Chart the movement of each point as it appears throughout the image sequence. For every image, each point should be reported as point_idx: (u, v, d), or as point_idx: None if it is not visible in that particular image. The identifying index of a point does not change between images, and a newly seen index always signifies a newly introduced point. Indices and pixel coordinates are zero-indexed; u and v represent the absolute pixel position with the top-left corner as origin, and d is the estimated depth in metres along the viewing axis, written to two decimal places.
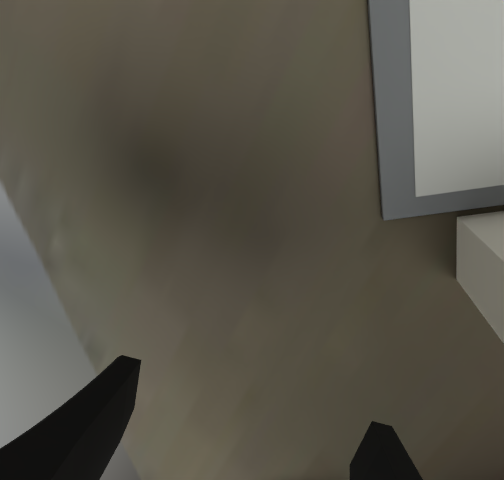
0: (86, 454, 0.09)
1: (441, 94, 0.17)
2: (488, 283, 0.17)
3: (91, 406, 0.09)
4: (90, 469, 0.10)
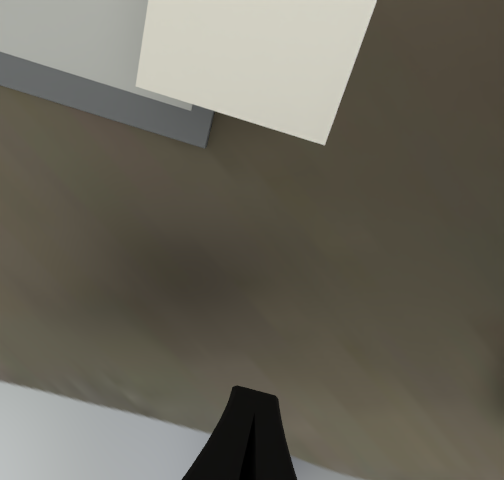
0: None
1: (102, 55, 0.18)
2: None
3: (234, 444, 0.09)
4: None
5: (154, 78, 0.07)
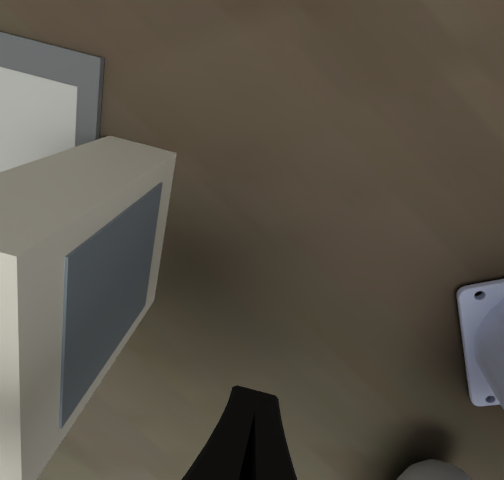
0: None
1: None
2: None
3: (234, 444, 0.09)
4: None
5: None
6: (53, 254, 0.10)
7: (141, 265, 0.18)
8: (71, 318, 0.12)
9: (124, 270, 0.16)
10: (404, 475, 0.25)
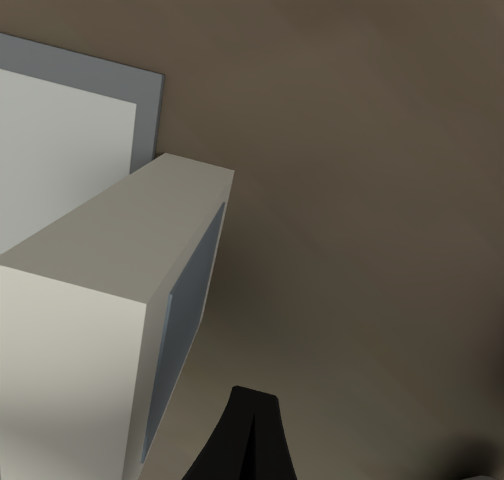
0: None
1: None
2: None
3: (234, 444, 0.09)
4: None
5: None
6: (164, 294, 0.10)
7: (203, 287, 0.18)
8: (164, 353, 0.12)
9: (195, 295, 0.16)
10: None
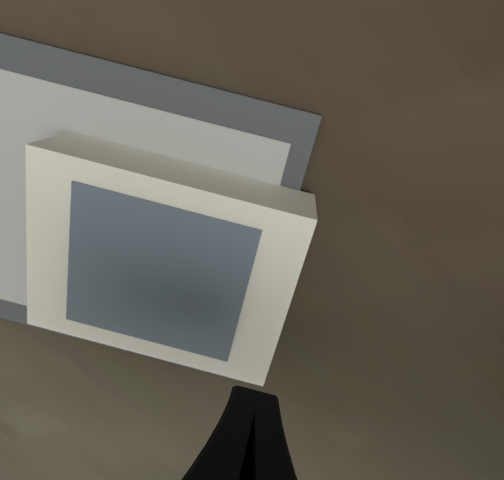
0: None
1: None
2: None
3: (234, 444, 0.09)
4: None
5: None
6: (59, 169, 0.16)
7: (209, 296, 0.17)
8: (76, 234, 0.17)
9: (166, 267, 0.17)
10: None
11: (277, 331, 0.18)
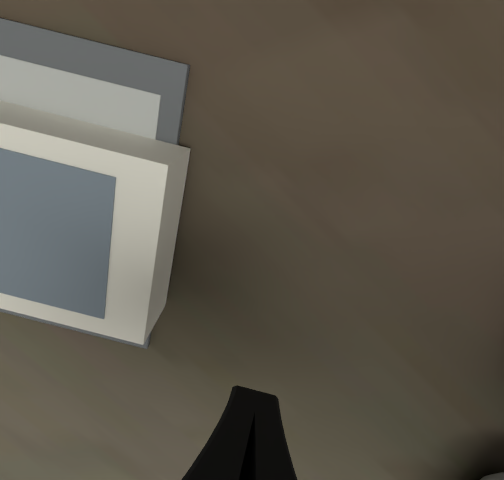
0: None
1: None
2: None
3: (234, 444, 0.09)
4: None
5: None
6: None
7: (74, 249, 0.17)
8: None
9: (28, 219, 0.17)
10: None
11: (148, 285, 0.18)
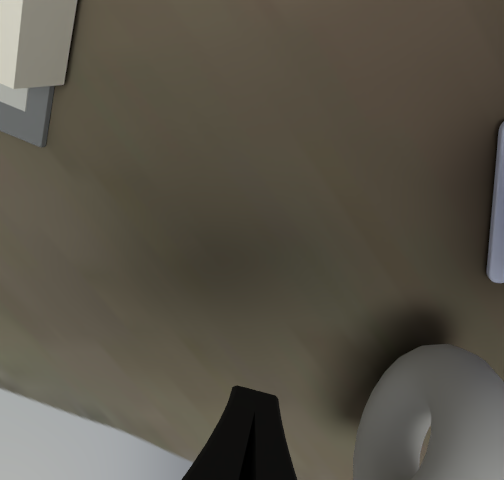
0: None
1: None
2: None
3: (234, 444, 0.09)
4: None
5: None
6: None
7: None
8: None
9: None
10: (396, 362, 0.21)
11: None
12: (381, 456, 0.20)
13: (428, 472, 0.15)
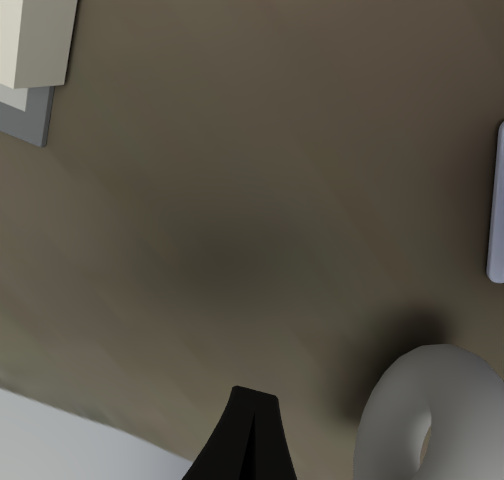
0: None
1: None
2: None
3: (234, 444, 0.09)
4: None
5: None
6: None
7: None
8: None
9: None
10: (396, 362, 0.21)
11: None
12: (381, 456, 0.20)
13: (428, 472, 0.15)
